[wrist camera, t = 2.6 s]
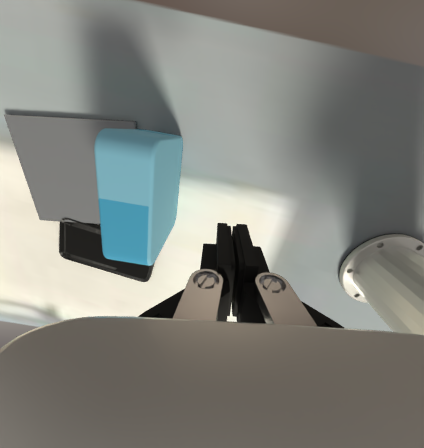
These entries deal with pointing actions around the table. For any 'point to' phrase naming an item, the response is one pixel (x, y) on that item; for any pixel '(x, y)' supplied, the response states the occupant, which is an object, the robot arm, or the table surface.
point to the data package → (136, 191)
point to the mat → (61, 163)
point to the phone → (95, 250)
